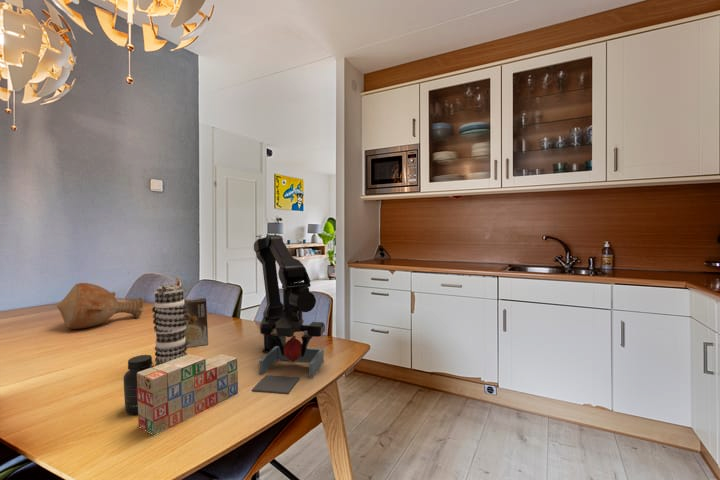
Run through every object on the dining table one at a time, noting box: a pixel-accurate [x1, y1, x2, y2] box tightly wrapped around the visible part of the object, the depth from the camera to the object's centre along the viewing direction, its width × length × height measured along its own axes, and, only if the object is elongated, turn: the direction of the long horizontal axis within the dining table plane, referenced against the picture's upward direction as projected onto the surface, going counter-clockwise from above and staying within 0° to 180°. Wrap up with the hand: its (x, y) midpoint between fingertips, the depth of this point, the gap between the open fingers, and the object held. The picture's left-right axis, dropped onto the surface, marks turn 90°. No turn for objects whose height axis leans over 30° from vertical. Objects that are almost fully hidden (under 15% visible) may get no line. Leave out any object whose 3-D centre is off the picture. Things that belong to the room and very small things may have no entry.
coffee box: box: [183, 297, 209, 349], centre depth 126 cm, size 9×6×16 cm
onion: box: [284, 335, 302, 363], centre depth 106 cm, size 6×6×8 cm
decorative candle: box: [151, 284, 188, 367], centre depth 105 cm, size 9×9×25 cm
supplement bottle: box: [123, 354, 155, 416], centre depth 82 cm, size 7×7×12 cm
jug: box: [56, 282, 144, 330], centre depth 152 cm, size 20×19×30 cm
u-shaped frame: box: [258, 346, 325, 379], centre depth 105 cm, size 16×12×4 cm
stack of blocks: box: [137, 353, 239, 436], centre depth 82 cm, size 21×6×12 cm, turn 149°
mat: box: [251, 374, 301, 395], centre depth 94 cm, size 10×9×1 cm
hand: (293, 355), depth 106 cm, fingers closed on onion, 6 cm apart
